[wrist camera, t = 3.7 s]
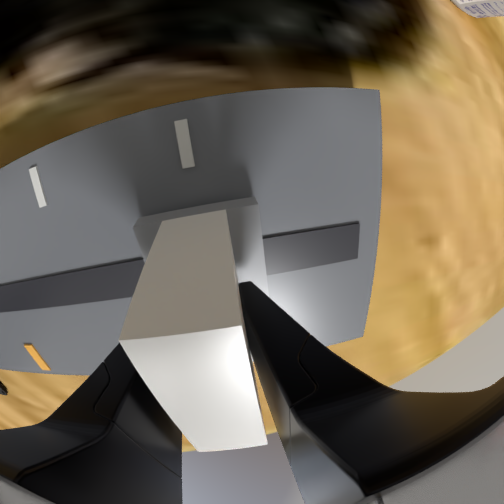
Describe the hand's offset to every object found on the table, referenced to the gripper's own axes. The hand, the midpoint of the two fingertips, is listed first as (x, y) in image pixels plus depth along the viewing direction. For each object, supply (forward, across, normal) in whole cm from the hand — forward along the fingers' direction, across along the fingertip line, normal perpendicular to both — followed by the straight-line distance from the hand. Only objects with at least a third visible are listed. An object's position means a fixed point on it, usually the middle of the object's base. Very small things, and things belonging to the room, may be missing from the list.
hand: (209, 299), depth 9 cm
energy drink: (+4, -16, -15) cm, 22 cm away
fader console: (+4, +6, 0) cm, 7 cm away
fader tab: (+2, 0, 0) cm, 2 cm away
